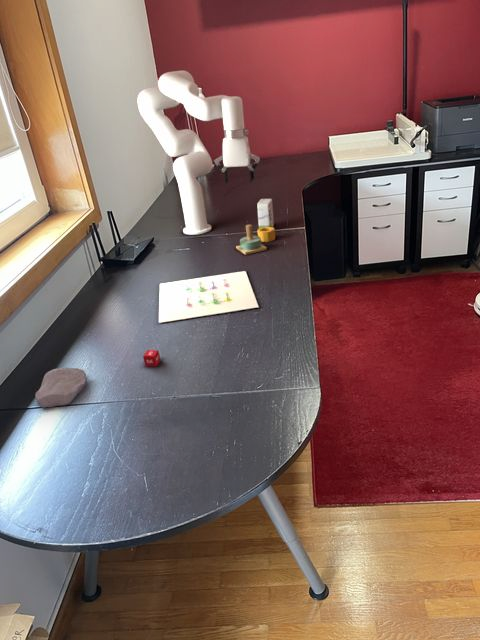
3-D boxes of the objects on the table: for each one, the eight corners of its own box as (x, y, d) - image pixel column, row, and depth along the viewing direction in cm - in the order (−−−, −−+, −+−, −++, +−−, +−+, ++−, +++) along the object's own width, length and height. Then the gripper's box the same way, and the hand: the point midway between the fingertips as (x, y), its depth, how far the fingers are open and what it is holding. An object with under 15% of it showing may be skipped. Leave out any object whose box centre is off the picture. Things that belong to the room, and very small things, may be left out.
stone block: (90, 382, 128) (49, 380, 127) (89, 366, 126) (47, 364, 125) (79, 412, 118) (35, 410, 117) (78, 396, 116) (32, 394, 115)
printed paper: (258, 308, 152) (258, 303, 151) (158, 323, 149) (157, 319, 148) (245, 271, 178) (245, 267, 177) (160, 284, 175) (159, 280, 174)
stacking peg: (236, 248, 199) (233, 225, 194) (256, 243, 202) (254, 220, 197) (245, 255, 192) (242, 230, 187) (266, 249, 195) (264, 225, 190)
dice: (156, 366, 129) (154, 356, 127) (145, 366, 129) (142, 356, 128) (160, 360, 131) (158, 350, 130) (149, 359, 132) (147, 350, 130)
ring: (257, 242, 203) (256, 232, 201) (259, 236, 209) (258, 227, 207) (274, 241, 202) (273, 231, 200) (275, 235, 208) (275, 226, 206)
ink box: (262, 225, 222) (260, 198, 216) (274, 225, 220) (272, 197, 214) (258, 232, 214) (256, 204, 208) (270, 231, 213) (268, 203, 207)
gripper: (259, 131, 188) (262, 178, 197) (213, 133, 190) (218, 180, 199) (257, 134, 182) (260, 183, 191) (209, 137, 184) (215, 185, 193)
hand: (238, 181), depth 195 cm, fingers open, 9 cm apart
